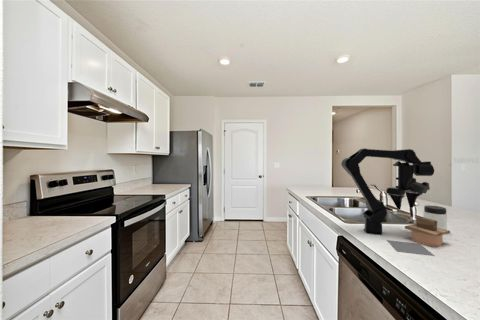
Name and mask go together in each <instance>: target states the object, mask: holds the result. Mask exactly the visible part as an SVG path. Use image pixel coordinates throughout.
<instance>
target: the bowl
mask: <svg viewBox="0 0 480 320" xmlns="http://www.w3.org/2000/svg"><path fill="white" fill-rule="evenodd" d="M410 231H411V232H410V238H411V240H412V241H414V243H419V244H421V245H426V246H429V247H430V246H431V247H441V246H442V245H443V237H444V235H440V236H436V237H433V236H430V235H426V234H423V233H419V232H416V231H412V230H410Z"/></svg>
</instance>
